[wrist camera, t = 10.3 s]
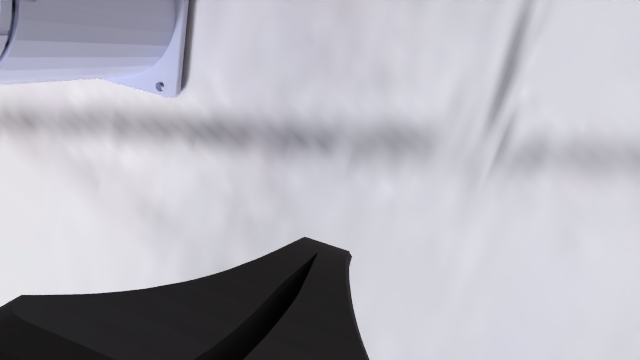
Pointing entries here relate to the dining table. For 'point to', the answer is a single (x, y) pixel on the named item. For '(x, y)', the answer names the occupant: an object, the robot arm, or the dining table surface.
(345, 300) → the robot arm
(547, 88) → the dining table surface
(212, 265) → the dining table surface
